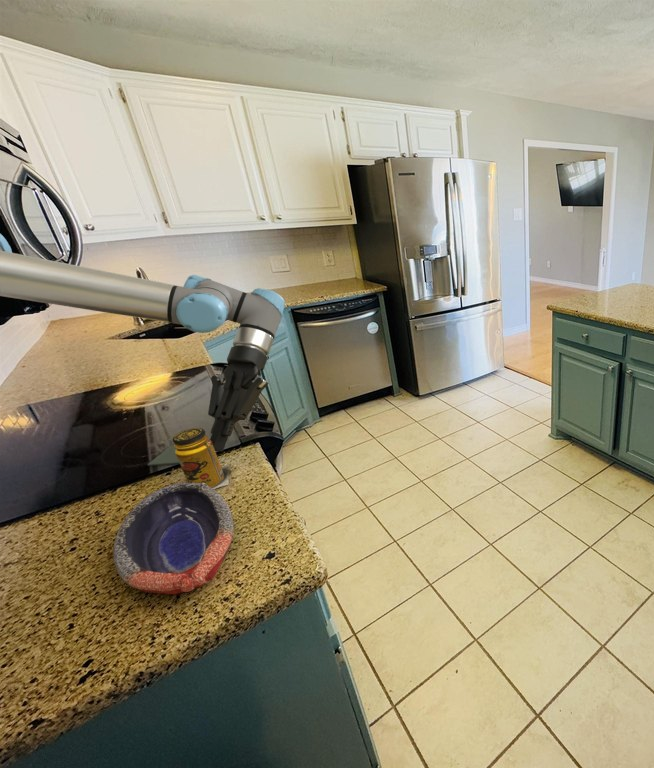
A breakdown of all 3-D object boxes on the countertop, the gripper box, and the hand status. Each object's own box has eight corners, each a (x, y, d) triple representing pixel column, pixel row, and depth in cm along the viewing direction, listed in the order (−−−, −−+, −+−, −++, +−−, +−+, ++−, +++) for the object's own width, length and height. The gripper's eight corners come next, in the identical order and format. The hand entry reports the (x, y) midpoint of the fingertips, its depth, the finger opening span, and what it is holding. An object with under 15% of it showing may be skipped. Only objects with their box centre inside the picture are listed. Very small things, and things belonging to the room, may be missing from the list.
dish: (222, 485, 84) (214, 465, 82) (254, 578, 63) (245, 554, 61) (123, 521, 75) (112, 499, 73) (121, 644, 54) (105, 618, 52)
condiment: (185, 497, 81) (163, 446, 76) (190, 476, 88) (170, 427, 83) (228, 485, 84) (210, 435, 80) (230, 465, 91) (213, 418, 86)
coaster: (147, 466, 91) (147, 464, 91) (176, 442, 101) (175, 441, 100) (194, 462, 92) (194, 461, 92) (219, 439, 101) (218, 438, 101)
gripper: (285, 358, 98) (254, 455, 90) (237, 356, 100) (202, 451, 91) (264, 344, 91) (228, 448, 83) (213, 342, 93) (172, 444, 85)
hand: (214, 450), depth 87 cm, fingers closed
